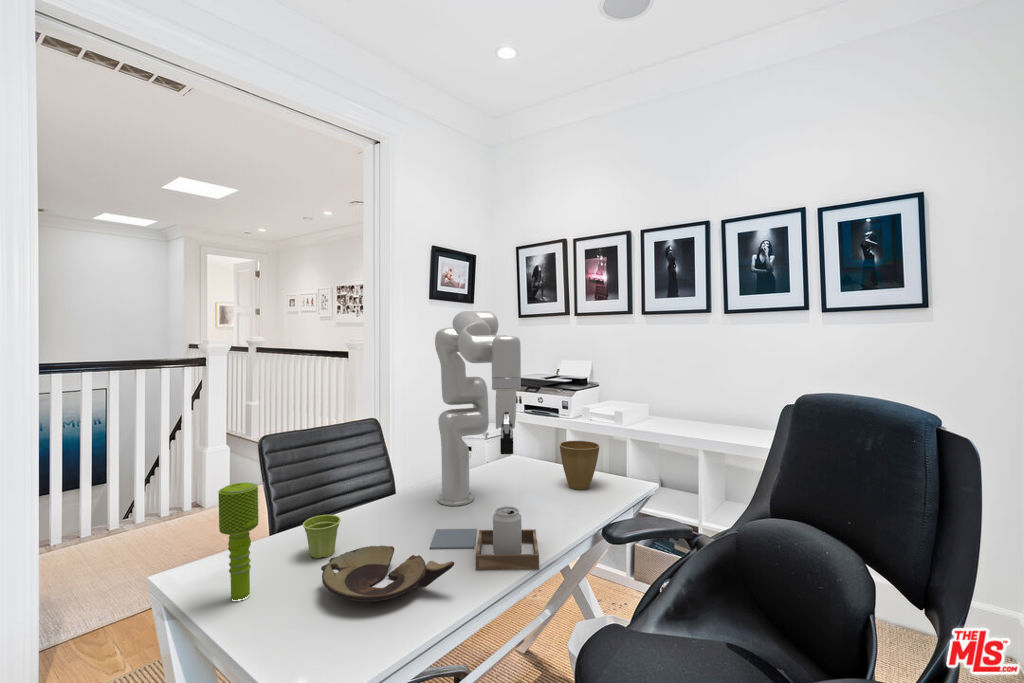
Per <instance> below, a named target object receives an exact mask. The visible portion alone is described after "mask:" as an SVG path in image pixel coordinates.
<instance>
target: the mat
mask: <svg viewBox="0 0 1024 683" xmlns="http://www.w3.org/2000/svg"><path fill="white" fill-rule="evenodd" d="M477 532H478V528H436V529H435V531H434V533H433V537H432V540H431V542H430V546H429V550H464V549H467V550H469V549H471V550H474V549H475V545H476V538H477Z"/></svg>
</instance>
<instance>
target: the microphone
mask: <svg viewBox="0 0 1024 683" xmlns="http://www.w3.org/2000/svg"><path fill="white" fill-rule="evenodd" d="M217 492H218V493H217V494H218V528H219V533H221V534H222V535H226V536H227V535H228V543H227V546H228V547H227V550H228V552H230V554H229V555H228V558H229V563H228V566H229V567H230V568H229V570H228V572H229V574H230V600H231V599H233V600H238V599H243V598H245V597H247V596H248V595H249V594H250V595H251V592H250V591H251V583H250V582H251V581H250V580H251V577H250V576H251V574H250V571H251V568H252V565H251V564H250V563H251V561H252V560H251V558H250V555H251V551H250V550H249V549H250V548H251V543H252V541H251V540H252V539H251V537H250V535H251V534H250V531H252V530H255V528H256V527H258V526H259V486H258V484H257V483H253V482H237V483H232V484H229V485H225V487H224V486H223V488H220V489H219V490H218V491H217Z"/></svg>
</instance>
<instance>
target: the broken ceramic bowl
mask: <svg viewBox="0 0 1024 683" xmlns="http://www.w3.org/2000/svg"><path fill="white" fill-rule="evenodd" d="M394 554H395V547H394V546H392V545H391V546H390V545H389V546H388V545H370V546H364V547H363V546H362V547H359V548H356V549H353V550H350V551H347V552H344V553H342V554H339V555H338V556H333V557H331V558H330V559H329V560H328V563H326V564H324V565H321V568H320V569H321V571H322V573H321V581H322V584H323V586H324V587H325V589H326V590H327V591H328V592H330V593H332V594H333V595H335V596H337V597H340V598H344V599H348V600H350V601H351V600H352V601H356V602H378V601H379V602H380V601H383V600H389V599H393V598H396V597H398V596H400V595H403V594H405V593H407V592H409V591H411V590H412V589H414V588H425V587H427V586H429V585H431V584H432V583H433V582H434V581H436V580H437V579H439V578H440V577H441V576H443V575H444V574H445V573H447V572H448V571H449V570H451V569H452V568H453V567H454V566H455V561H453V560H452V561H451V560H450V561H447V562H445V563H438V562H436V561H434V560H429V561H427V563H426V562H425V559H424V558H423V557H422V556H421V555H419V554H418V555H417V556H416V555H414V554H412V555H411V556H409V557H408V558H406V560H405V561H404V562H402V563H400V565H398V566H397V567H395V568H394V569H393V570H392V571H390V572H389V573H388V570H389V568H390V566H391V562H392V560H393V556H394ZM335 571H337V572H335ZM387 573H388V575H387V577H388V579H392V580H394V581H392V582H389V583H390V584H389V583H388V584H387V585H386V586H384V587H383V586H382V587H374V585H375V584H377V583H379V582H380V581H382V580H383V578H385V576H386V574H387Z"/></svg>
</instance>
